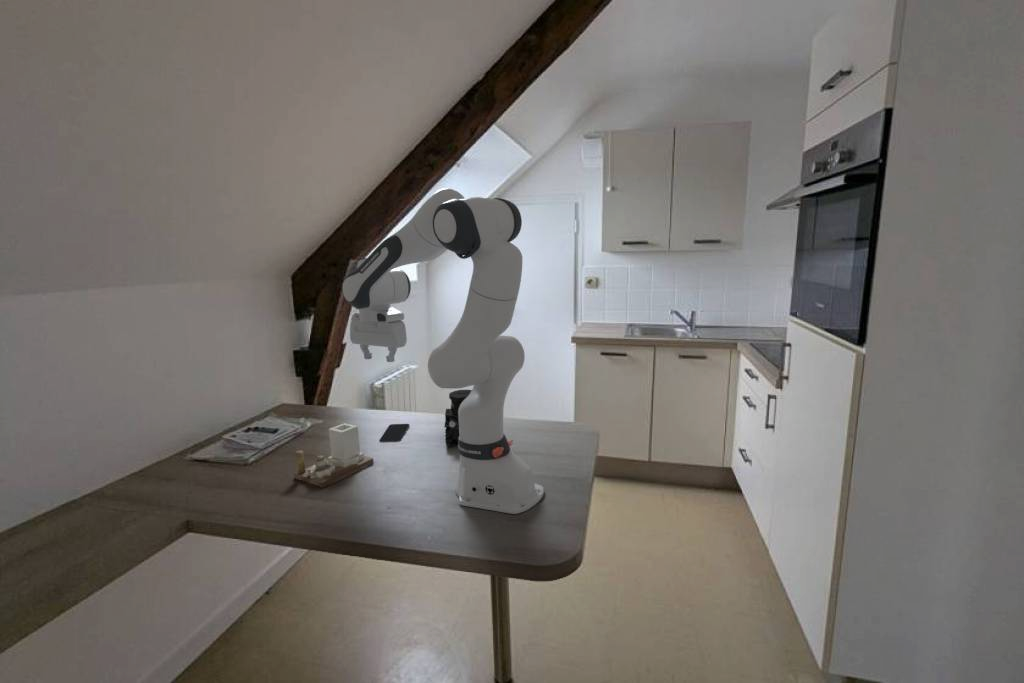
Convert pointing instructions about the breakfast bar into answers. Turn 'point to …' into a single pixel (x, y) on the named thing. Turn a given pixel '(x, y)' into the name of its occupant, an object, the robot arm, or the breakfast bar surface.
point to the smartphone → (394, 433)
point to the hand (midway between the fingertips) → (379, 360)
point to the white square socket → (344, 445)
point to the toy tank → (454, 415)
